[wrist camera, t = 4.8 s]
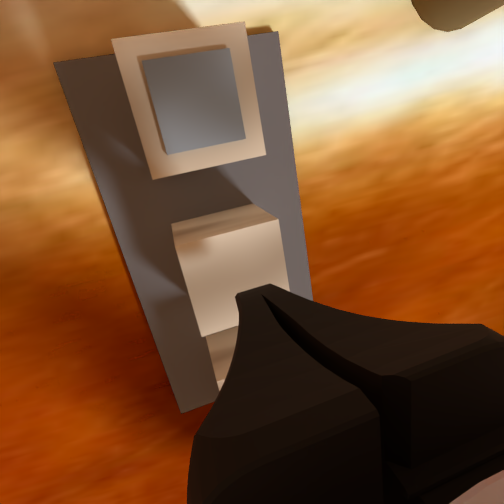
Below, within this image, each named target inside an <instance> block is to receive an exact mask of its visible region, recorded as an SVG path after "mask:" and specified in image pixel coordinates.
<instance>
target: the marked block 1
mask: <svg viewBox="0 0 504 504" xmlns="http://www.w3.org/2000/svg"><path fill="white" fill-rule="evenodd" d="M111 42H112V45H113V48H114V52H115V55H116V59H117V62H118V65H119V69H120V72H121V75H122V79H123V82H124V85H125V89H126V92H127V95H128V99H129V102H130V105H131V109H132V112H133V116H134V119H135V122H136V126H137V129H138V132H139V136H140V139H141V142H142V146H143V149H144V152H145V156H146V159H147V162H148V166H149V169H150V173H151V176H152V179H153V180H154V179H158V178H163V177H168V176H172V175H177V174H181V173H186V172H190V171H195V170H200V169H204V168H209V167H213V166H218V165H222V164H227V163H232V162H236V161H241V160H245V159H250V158H254V157H259V156H264V155H266V151H265V144H264V138H263V132H262V126H261V120H260V113H259V107H258V101H257V95H256V89H255V82H254V76H253V70H252V64H251V57H250V51H249V45H248V39H247V33H246V26H245V22H237V23H229V24H222V25H214V26H206V27H199V28H191V29H183V30H175V31H168V32H160V33H152V34H145V35H137V36H129V37H121V38H114V39H111Z"/></svg>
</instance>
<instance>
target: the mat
mask: <svg viewBox="0 0 504 504" xmlns="http://www.w3.org/2000/svg"><path fill="white" fill-rule="evenodd" d="M247 39H248V45H249V51H250V57H251V64H252V70H253V76H254V82H255V89H256V95H257V101H258V107H259V113H260V120H261V126H262V132H263V138H264V144H265V151H266V155H264V156H259V157H254V158H250V159H245V160H241V161H236V162H232V163H227V164H222V165H218V166H213V167H209V168H204V169H200V170H195V171H190V172H186V173H181V174H177V175H172V176H168V177H163V178H158V179H154V180H153V179H152V176H151V173H150V169H149V166H148V162H147V159H146V156H145V152H144V149H143V146H142V142H141V139H140V136H139V132H138V129H137V126H136V122H135V119H134V116H133V112H132V109H131V105H130V102H129V99H128V95H127V92H126V89H125V85H124V82H123V79H122V75H121V72H120V69H119V65H118V62H117V59H116V55H115V54H111V55H104V56H97V57H90V58H82V59H75V60H68V61H61V62H54V63H53V64H54V66H55V69H56V72H57V75H58V77H59V80H60V83H61V86H62V88H63V91H64V94H65V97H66V99H67V102H68V105H69V108H70V110H71V113H72V116H73V118H74V121H75V124H76V127H77V129H78V132H79V135H80V138H81V140H82V143H83V146H84V149H85V151H86V154H87V157H88V160H89V162H90V165H91V168H92V171H93V173H94V176H95V179H96V182H97V184H98V187H99V190H100V192H101V195H102V198H103V201H104V203H105V206H106V209H107V212H108V214H109V217H110V220H111V223H112V225H113V228H114V231H115V234H116V236H117V239H118V242H119V245H120V247H121V250H122V253H123V256H124V258H125V261H126V264H127V266H128V269H129V272H130V275H131V277H132V280H133V283H134V286H135V288H136V291H137V294H138V297H139V299H140V302H141V305H142V308H143V310H144V313H145V316H146V319H147V321H148V324H149V327H150V330H151V332H152V335H153V338H154V340H155V343H156V346H157V349H158V351H159V354H160V357H161V360H162V362H163V365H164V368H165V371H166V373H167V376H168V379H169V382H170V384H171V387H172V390H173V393H174V395H175V398H176V401H177V404H178V406H179V409H180V412H181V414H182V413H185V412H187V411H190V410H193V409H195V408H198V407H201V406H204V405H206V404H209V403H212V402H214V401H215V400H216V398H217V396H218V394H219V392H220V391H219V388H218V384H217V381H216V377H215V373H214V369H213V364H212V360H211V356H210V352H209V348H208V344H207V340H206V336H204V337H201V333H200V330H199V326H198V323H197V320H196V316H195V313H194V309H193V306H192V303H191V299H190V296H189V293H188V289H187V286H186V282H185V279H184V276H183V272H182V269H181V265H180V262H179V259H178V255H177V252H176V249H175V244H174V238H173V232H172V225H171V224H172V223H176V222H180V221H184V220H188V219H193V218H197V217H201V216H205V215H209V214H213V213H217V212H221V211H225V210H229V209H233V208H237V207H241V206H245V205H249V204H255V205H256V206H258V207H260V208H261V209H263V210H264V211H266V212H268V213H269V214H271V215H273V216H274V217H276V218H278V219H279V226H280V232H281V238H282V245H283V251H284V257H285V263H286V270H287V276H288V282H289V289H290V292H292V293H294V294H296V295H299V296H301V297H303V298H306V299H309V300H311V301H313V297H312V289H311V281H310V274H309V266H308V258H307V250H306V243H305V235H304V227H303V219H302V212H301V204H300V196H299V188H298V181H297V173H296V165H295V157H294V150H293V142H292V134H291V126H290V119H289V111H288V103H287V95H286V88H285V80H284V72H283V64H282V57H281V49H280V41H279V33H278V31H277V32H270V33H262V34H255V35H248V36H247ZM234 327H236V326H234ZM231 328H233V327H231ZM228 329H229V328H228ZM225 330H226V329H225ZM222 331H223V330H222ZM219 332H220V331H219ZM216 333H217V332H216ZM213 334H214V333H213ZM210 335H211V334H210ZM207 336H208V335H207Z"/></svg>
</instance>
